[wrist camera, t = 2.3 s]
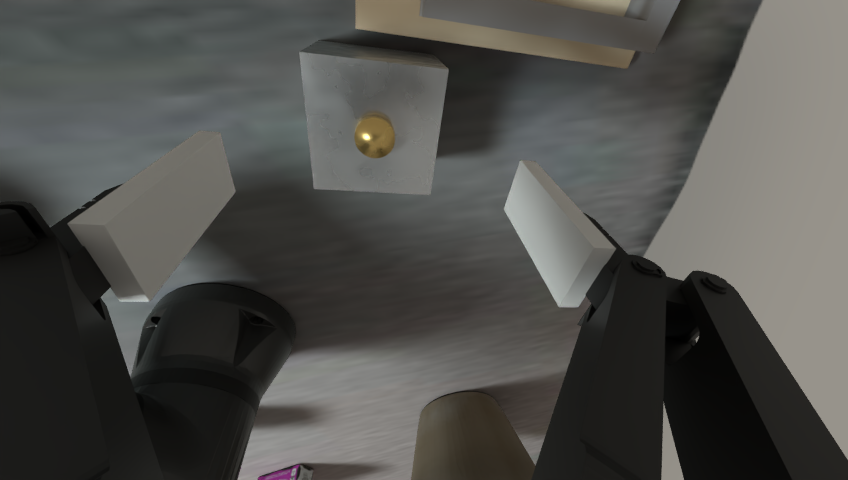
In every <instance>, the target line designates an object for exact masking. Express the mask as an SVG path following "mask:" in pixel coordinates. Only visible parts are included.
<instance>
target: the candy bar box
mask: <svg viewBox="0 0 848 480" xmlns="http://www.w3.org/2000/svg"><path fill="white" fill-rule="evenodd" d="M312 475H313V469H311V468H308V467H306V466H304V465H301V464H299V465H296V466H292V467H289V468H286V469H283V470H280V471H276V472H273V473H270V474H267V475H264V476H261V477H258V480H312Z"/></svg>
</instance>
